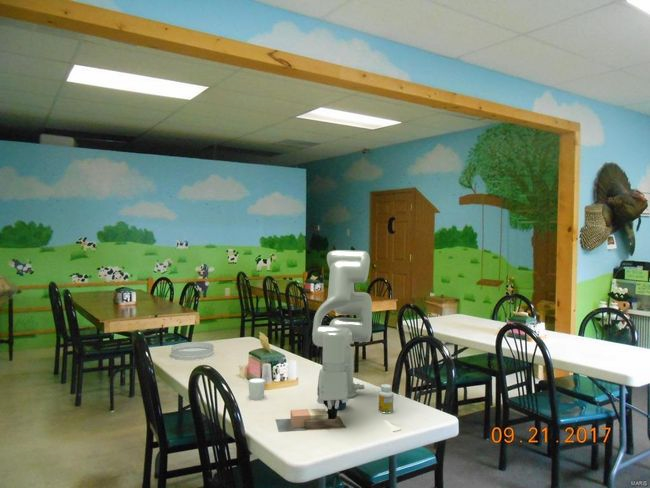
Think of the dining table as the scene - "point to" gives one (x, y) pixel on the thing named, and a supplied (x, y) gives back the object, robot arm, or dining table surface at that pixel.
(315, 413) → the beech block
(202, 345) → the dish
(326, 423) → the chute
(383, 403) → the supplement bottle
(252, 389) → the shot glass
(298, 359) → the dining table surface
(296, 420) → the terracotta block
